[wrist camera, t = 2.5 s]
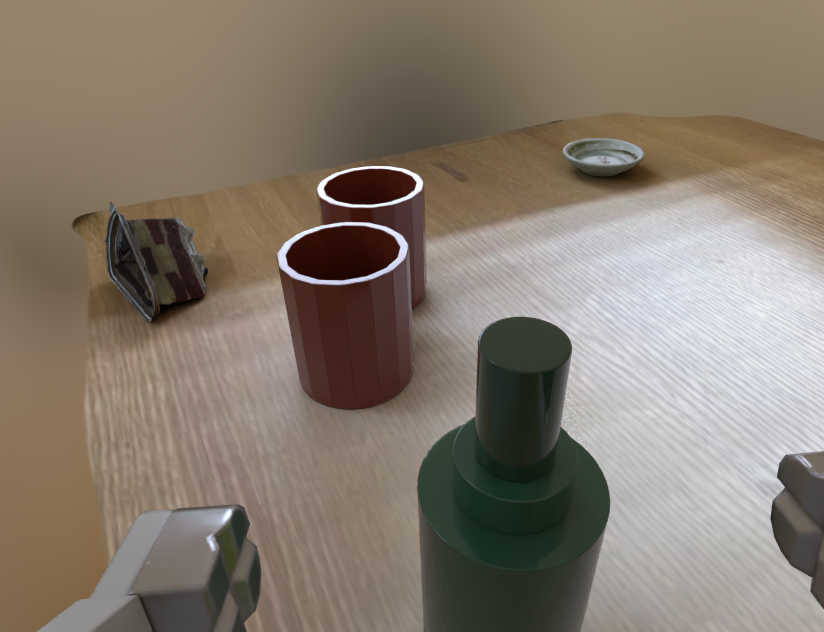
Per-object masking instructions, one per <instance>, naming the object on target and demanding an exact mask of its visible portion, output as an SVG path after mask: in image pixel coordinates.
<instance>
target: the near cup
mask: <svg viewBox="0 0 824 632" xmlns="http://www.w3.org/2000/svg"><path fill="white" fill-rule="evenodd" d="M277 261H278V267H279V272H280V277H281V283H282V288H283V293H284V299H285V304H286V309H287V315H288V320H289V325H290V331H291V336H292V341H293V347H294V352H295V357H296V363H297V368H298V373H299V378H300V383H301V386H302V388H303V389H304V391H305V392H306V393H307V395H309V396H310V397H311V398H312V399H314V400H315V401H317V402H319V403H321V404H323V405H326V406H329V407H333V408H339V409H361V408H367V407H371V406H375V405H378V404H381V403H384V402H386V401H388V400H390V399H392V398H393V397H395V396H396V395H398V394H399V393H400V392H401V391H402V390H403V389H404V388H405V387H406V386H407V385H408V383H409V381H410V379H411V377H412V374H413V362H414V347H413V324H412V301H411V277H410V254H409V245H408V244H407V242H406V240H405V239H404V237H403V235H401V234H399V233H397V232H396V231H394V230H392V229H390V228H388V227H385V226H381V225H376V224H372V223H363V222H342V223H335V224H329V225H322V226H318V227H315V228H312V229H310V230H307V231H304V232H301V233H299V234H297V235H296V236H294V237H293V238H291V239H290V240H288V241H287V242H285V243H284V244H283V246H282V248H281V249H280V251H279V252H278V254H277Z"/></svg>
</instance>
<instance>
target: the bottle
mask: <svg viewBox="0 0 824 632" xmlns="http://www.w3.org/2000/svg"><path fill="white" fill-rule="evenodd" d="M571 354H572V345H571V342H570V339H569V338H568V336H567V335H566V334H565V333H564V332H563V331H562V330H561V329H560V328H558V327H557V326H555V325H553V324H551V323H549V322H547V321H544V320H540V319H536V318H530V317H510V318H505V319H501V320H498V321H496V322H493V323H492V324H490V325H488V326H487V327H486V328H485V329H484V330H483V331H482V333H481V334H480V336H479V340H478V359H477V388H476V416H475V417H473V418H472V419H470V420H469V421H468V422H467V423H466V424H464V425H461V426H459V427H457V428H455V429H453V430H452V431H450V432H448V433H447V434H445V435H444V436H443V437H441V438H440V439H439V440H438V441H437V442H436V443H435V444H434V445H433V446H432V448H431V449H430V450H429V451H428V453H427V455H426V456H425V458H424V460H423V462H422V465H421V467H420V471H419V475H418V484H417V493H418V514H419V536H420V558H421V580H422V601H423V623H424V632H581V628H582V624H583V620H584V616H585V612H586V607H587V603H588V599H589V595H590V591H591V587H592V583H593V579H594V575H595V570H596V566H597V562H598V558H599V554H600V550H601V546H602V542H603V537H604V533H605V529H606V525H607V521H608V517H609V513H610V494H609V489H608V485H607V482H606V479H605V477H604V475H603V472H602V470H601V469H600V467H599V465H598V464H597V462H596V461H595V460H594V458H593V457H592V456H591V455H590V453H589V452H587V451H586V450H585V449H584V448H583V447H582V446H581V445H580V444H579V443H578V442H576V441H575V440H574V439H572V438H571V437H570V436H569V435H568V434H567V432H566V431H565V430H564V429H563V428H562V427H561V421H562V414H563V407H564V401H565V394H566V387H567V381H568V374H569V367H570V361H571Z"/></svg>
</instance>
